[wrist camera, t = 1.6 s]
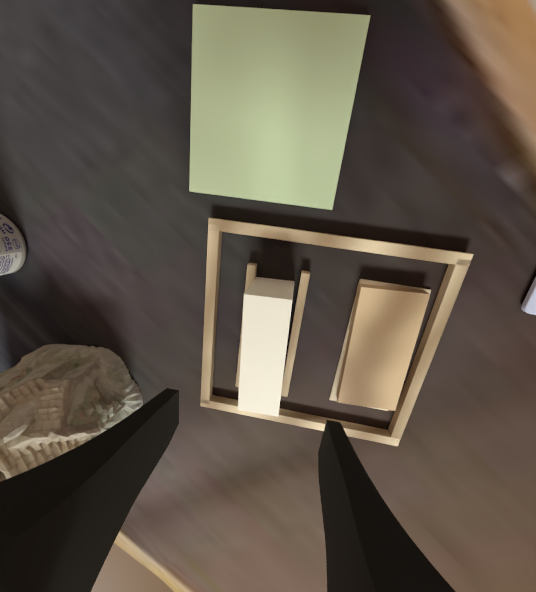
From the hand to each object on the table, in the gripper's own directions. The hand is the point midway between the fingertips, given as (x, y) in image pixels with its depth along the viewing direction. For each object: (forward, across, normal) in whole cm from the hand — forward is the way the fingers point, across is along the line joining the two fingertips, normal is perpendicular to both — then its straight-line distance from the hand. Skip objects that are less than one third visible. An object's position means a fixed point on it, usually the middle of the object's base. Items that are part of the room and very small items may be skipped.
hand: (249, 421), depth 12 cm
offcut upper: (+9, -8, 0) cm, 12 cm away
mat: (+9, +2, -15) cm, 18 cm away
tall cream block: (+10, 0, 0) cm, 10 cm away
